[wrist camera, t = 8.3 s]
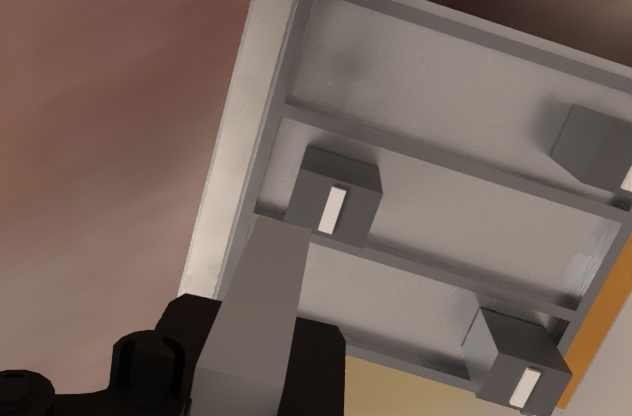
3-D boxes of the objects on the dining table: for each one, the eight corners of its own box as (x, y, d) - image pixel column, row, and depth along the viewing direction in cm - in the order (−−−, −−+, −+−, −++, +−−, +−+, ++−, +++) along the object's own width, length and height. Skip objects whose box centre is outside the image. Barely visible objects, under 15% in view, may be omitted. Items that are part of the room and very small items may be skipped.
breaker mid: (306, 144, 27) (299, 169, 23) (378, 167, 28) (383, 195, 24) (291, 194, 28) (281, 226, 24) (361, 216, 28) (363, 250, 25)
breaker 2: (574, 104, 26) (614, 122, 22) (648, 128, 26) (701, 150, 22) (549, 157, 27) (583, 184, 23) (621, 180, 27) (667, 211, 23)
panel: (269, -50, 26) (260, -55, 24) (718, 97, 27) (752, 106, 25) (183, 288, 32) (170, 310, 30) (553, 397, 33) (568, 427, 31)
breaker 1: (480, 308, 30) (499, 355, 26) (545, 327, 30) (575, 377, 26) (461, 349, 31) (477, 400, 27) (524, 368, 31) (550, 422, 27)
